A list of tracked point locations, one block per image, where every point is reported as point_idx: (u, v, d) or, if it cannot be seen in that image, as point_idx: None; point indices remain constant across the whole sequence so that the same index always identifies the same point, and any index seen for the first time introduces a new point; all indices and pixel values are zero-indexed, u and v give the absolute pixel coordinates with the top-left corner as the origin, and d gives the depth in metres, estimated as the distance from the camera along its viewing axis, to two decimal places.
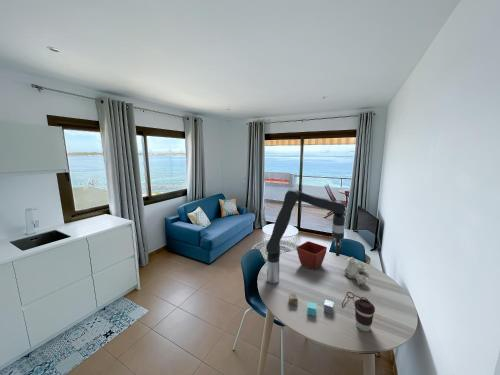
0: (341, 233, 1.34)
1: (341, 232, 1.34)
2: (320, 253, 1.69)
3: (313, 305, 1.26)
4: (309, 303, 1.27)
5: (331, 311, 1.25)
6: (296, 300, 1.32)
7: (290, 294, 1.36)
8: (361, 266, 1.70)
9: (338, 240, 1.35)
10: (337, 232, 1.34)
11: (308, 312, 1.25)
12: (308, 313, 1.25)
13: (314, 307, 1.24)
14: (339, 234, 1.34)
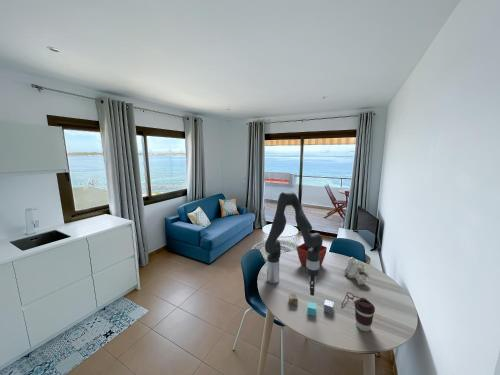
0: (315, 270, 1.18)
1: (315, 269, 1.18)
2: (320, 253, 1.69)
3: (313, 305, 1.26)
4: (309, 303, 1.27)
5: (331, 311, 1.25)
6: (296, 300, 1.32)
7: (290, 294, 1.36)
8: (361, 266, 1.70)
9: (312, 277, 1.19)
10: (311, 269, 1.18)
11: (308, 312, 1.25)
12: (308, 313, 1.25)
13: (314, 307, 1.24)
14: (313, 271, 1.18)
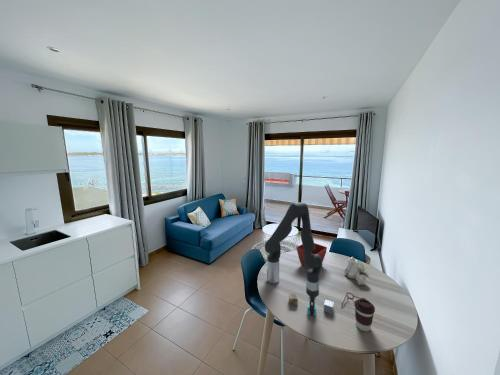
0: (315, 291, 1.20)
1: (315, 290, 1.20)
2: (320, 253, 1.69)
3: None
4: None
5: (331, 311, 1.25)
6: (296, 300, 1.32)
7: (290, 294, 1.36)
8: (361, 266, 1.70)
9: (312, 298, 1.21)
10: (311, 289, 1.20)
11: (308, 312, 1.25)
12: (308, 313, 1.25)
13: (314, 307, 1.24)
14: (313, 292, 1.20)
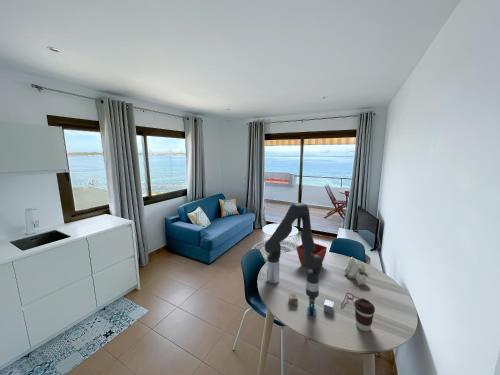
0: (315, 291, 1.20)
1: (315, 290, 1.20)
2: (320, 253, 1.69)
3: None
4: None
5: (331, 311, 1.25)
6: (296, 300, 1.32)
7: (290, 294, 1.36)
8: (361, 266, 1.70)
9: (312, 299, 1.21)
10: (310, 290, 1.21)
11: (308, 312, 1.25)
12: (308, 313, 1.25)
13: (314, 307, 1.24)
14: (313, 292, 1.20)
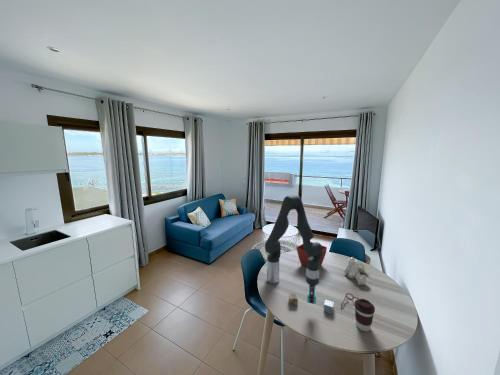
0: (315, 279, 1.19)
1: (315, 278, 1.19)
2: None
3: None
4: (308, 291, 1.26)
5: (331, 311, 1.25)
6: (296, 300, 1.32)
7: (290, 294, 1.36)
8: (362, 266, 1.69)
9: (312, 286, 1.20)
10: (311, 278, 1.19)
11: (308, 300, 1.23)
12: (308, 301, 1.23)
13: (314, 295, 1.23)
14: (313, 280, 1.19)
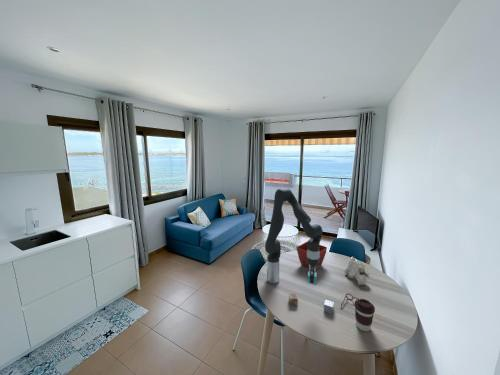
0: (315, 259, 1.23)
1: (315, 258, 1.23)
2: (320, 253, 1.69)
3: None
4: None
5: (331, 311, 1.25)
6: (296, 300, 1.32)
7: (290, 294, 1.36)
8: (362, 266, 1.69)
9: (312, 267, 1.24)
10: (311, 258, 1.23)
11: (308, 280, 1.28)
12: (308, 281, 1.28)
13: (314, 275, 1.27)
14: (313, 260, 1.23)
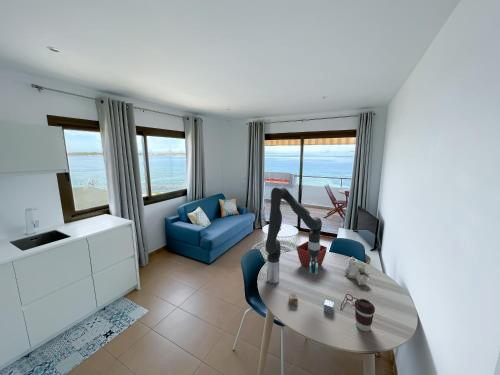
0: (316, 250, 1.31)
1: (316, 249, 1.31)
2: (320, 253, 1.69)
3: None
4: (310, 263, 1.38)
5: (331, 311, 1.25)
6: (296, 300, 1.32)
7: (290, 294, 1.36)
8: (362, 266, 1.69)
9: (313, 257, 1.32)
10: (312, 249, 1.31)
11: (310, 270, 1.35)
12: (310, 271, 1.36)
13: (316, 265, 1.35)
14: (314, 251, 1.31)
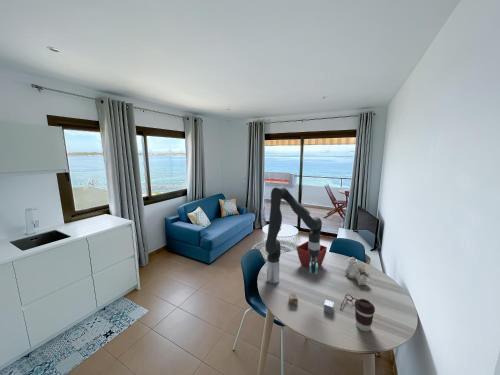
0: (316, 250, 1.31)
1: (316, 249, 1.31)
2: (320, 253, 1.69)
3: None
4: (310, 263, 1.38)
5: (331, 311, 1.25)
6: (296, 300, 1.32)
7: (290, 294, 1.36)
8: (362, 266, 1.69)
9: (313, 257, 1.32)
10: (312, 249, 1.31)
11: (310, 270, 1.35)
12: (310, 271, 1.36)
13: (316, 265, 1.35)
14: (314, 251, 1.31)
